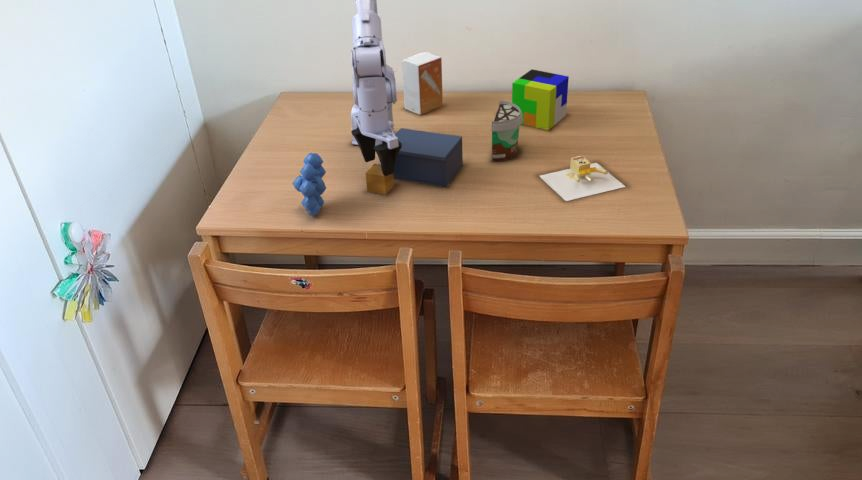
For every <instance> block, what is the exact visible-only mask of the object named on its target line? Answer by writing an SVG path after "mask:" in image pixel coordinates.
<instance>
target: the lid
mask: <svg viewBox="0 0 862 480" xmlns="http://www.w3.org/2000/svg"><path fill="white" fill-rule="evenodd" d="M395 133H396V134H395V136H396V137H397V138H398V141H399V142H401V143H402V147H401V149H400V151H399V153H398V154H402V155H409V156H416V157H423V158H429V159H436V160H443V161H445V160H446V159H447V157H448V156H449V155H450V154H451V153H452V151H453V150H454V149H455V148H456V147H457V145H458V144H459V143H460V142H461V141H462V142H463V136H461V135H454V134H447V133H440V132H439V133H438V132H431V131H426V130H417V129H410V128H402V127H400V129H398V131H396V132H395Z"/></svg>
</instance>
